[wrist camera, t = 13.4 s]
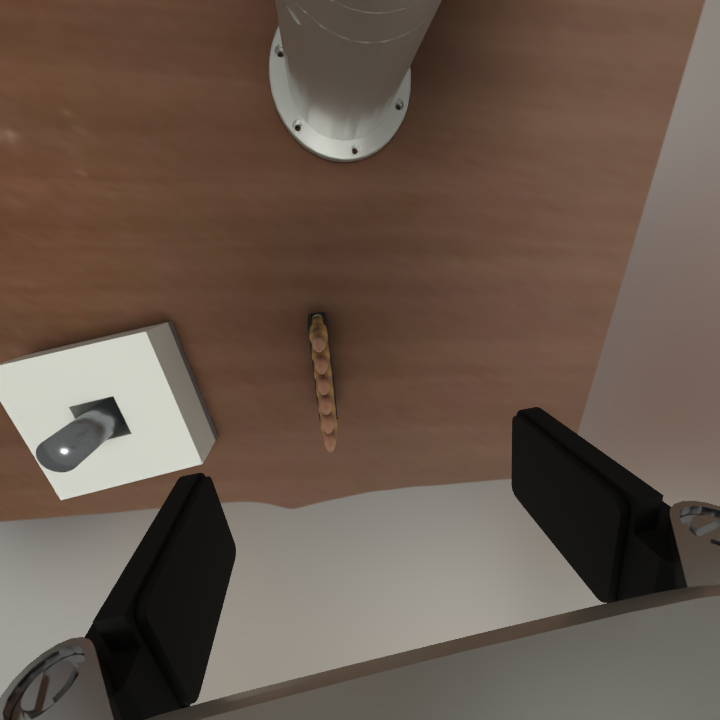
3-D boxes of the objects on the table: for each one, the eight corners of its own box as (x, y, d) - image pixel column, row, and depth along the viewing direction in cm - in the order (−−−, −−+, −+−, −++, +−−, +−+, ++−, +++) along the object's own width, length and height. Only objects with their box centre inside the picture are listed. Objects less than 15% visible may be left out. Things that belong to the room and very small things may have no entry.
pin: (106, 392, 35) (27, 444, 25) (135, 384, 35) (67, 434, 25) (119, 416, 36) (48, 476, 26) (147, 409, 36) (87, 466, 26)
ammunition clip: (335, 401, 39) (343, 459, 28) (319, 403, 39) (321, 462, 28) (325, 312, 36) (330, 336, 25) (308, 313, 36) (305, 338, 25)
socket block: (33, 352, 34) (-20, 369, 28) (171, 320, 34) (145, 331, 29) (96, 467, 38) (60, 500, 33) (218, 436, 39) (202, 463, 33)
